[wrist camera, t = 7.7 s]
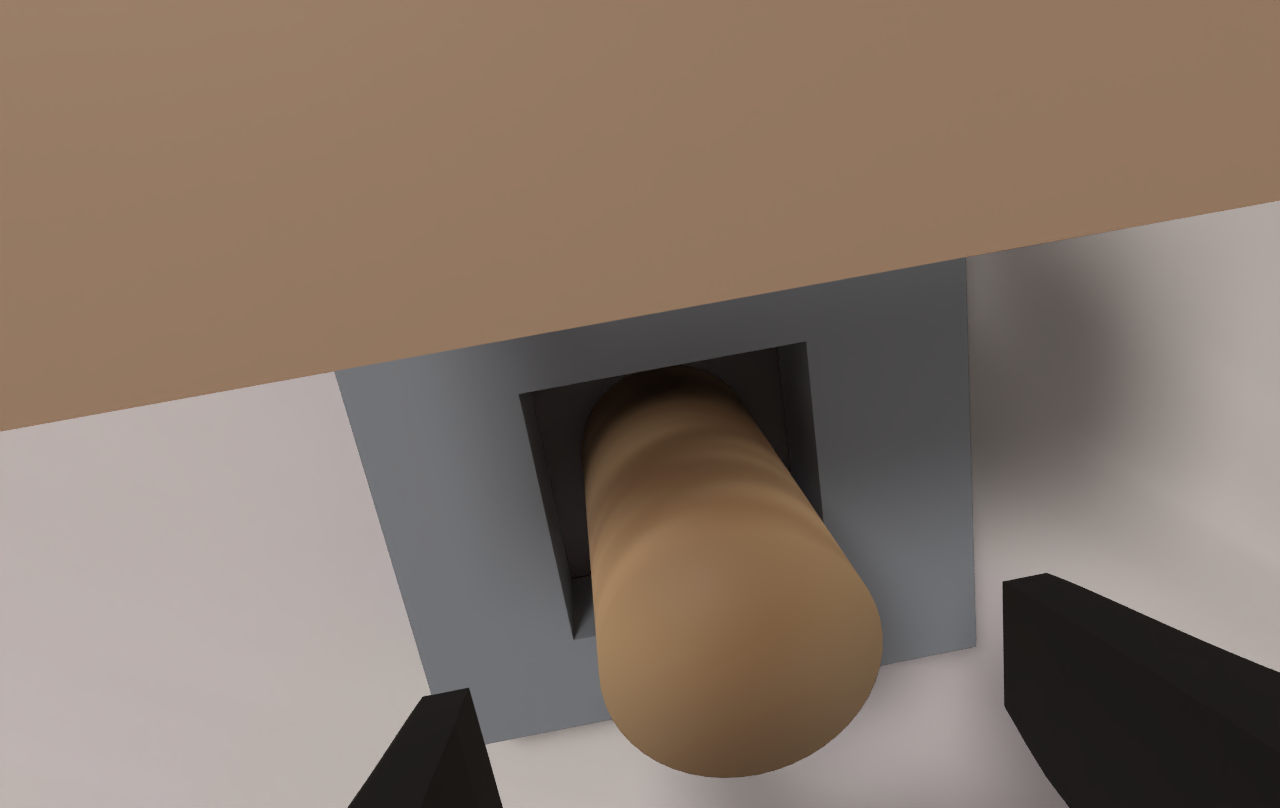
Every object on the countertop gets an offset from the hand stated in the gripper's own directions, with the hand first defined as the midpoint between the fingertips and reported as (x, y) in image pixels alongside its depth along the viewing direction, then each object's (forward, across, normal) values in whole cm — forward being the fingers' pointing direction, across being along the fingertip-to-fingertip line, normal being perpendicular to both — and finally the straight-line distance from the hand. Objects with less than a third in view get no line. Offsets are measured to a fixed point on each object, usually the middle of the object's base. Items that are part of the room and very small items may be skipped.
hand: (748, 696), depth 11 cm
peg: (+9, 0, 0) cm, 9 cm away
